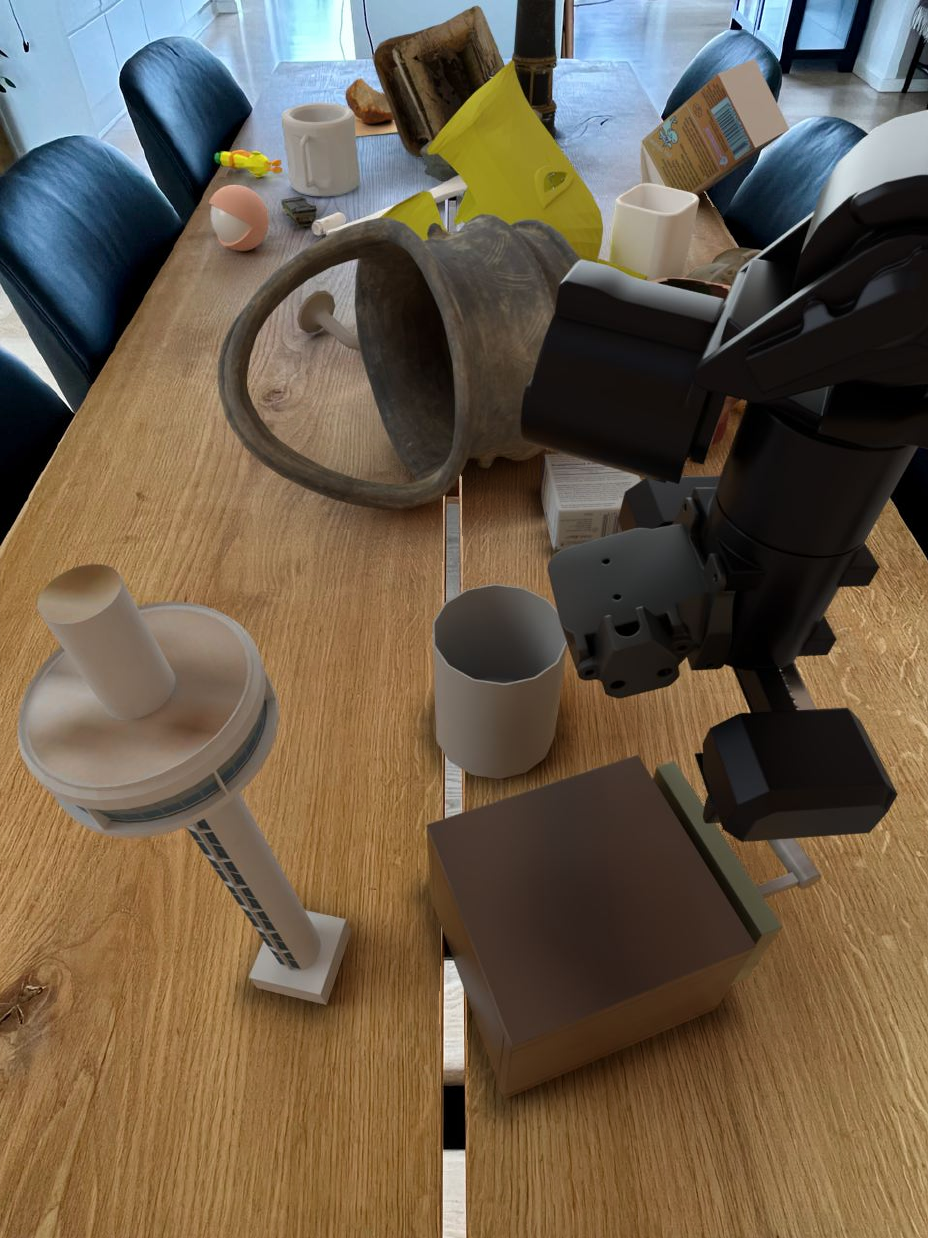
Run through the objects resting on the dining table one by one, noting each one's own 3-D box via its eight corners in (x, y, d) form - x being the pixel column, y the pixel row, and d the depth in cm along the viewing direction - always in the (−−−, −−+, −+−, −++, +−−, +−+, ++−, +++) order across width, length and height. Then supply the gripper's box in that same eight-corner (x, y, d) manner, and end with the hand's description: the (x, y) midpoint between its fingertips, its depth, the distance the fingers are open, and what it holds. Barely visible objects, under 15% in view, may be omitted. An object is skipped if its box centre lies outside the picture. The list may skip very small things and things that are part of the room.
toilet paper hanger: (342, 380, 93) (344, 340, 89) (297, 339, 96) (296, 298, 92) (499, 309, 105) (507, 271, 101) (455, 274, 108) (461, 236, 104)
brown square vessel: (367, 110, 125) (331, 141, 143) (499, 185, 137) (451, 205, 154) (413, -41, 122) (371, 9, 140) (544, 49, 134) (490, 85, 151)
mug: (303, 170, 133) (294, 98, 126) (368, 175, 132) (363, 103, 125) (274, 201, 124) (262, 126, 117) (343, 207, 123) (336, 132, 116)
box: (643, 549, 71) (623, 490, 77) (652, 506, 68) (630, 448, 74) (552, 552, 71) (539, 493, 77) (556, 509, 68) (542, 451, 74)
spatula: (320, 230, 114) (325, 248, 116) (338, 230, 112) (344, 249, 113) (459, 170, 128) (462, 187, 129) (478, 169, 125) (481, 187, 127)
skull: (842, 222, 86) (751, 212, 94) (719, 293, 81) (634, 276, 89) (837, 328, 93) (753, 310, 102) (724, 400, 88) (645, 375, 96)
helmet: (520, 105, 97) (659, 317, 94) (355, 224, 100) (485, 432, 98) (505, 6, 81) (671, 257, 79) (309, 152, 84) (463, 397, 82)
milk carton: (789, 129, 118) (687, 205, 134) (754, 57, 116) (654, 143, 131) (755, 147, 112) (652, 225, 128) (717, 73, 110) (618, 161, 126)
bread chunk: (416, 130, 147) (381, 72, 139) (365, 170, 150) (328, 115, 142) (400, 104, 157) (367, 48, 149) (352, 142, 159) (317, 89, 152)
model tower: (207, 1018, 46) (-129, 681, 23) (266, 876, 51) (39, 492, 29) (349, 1055, 44) (133, 727, 21) (396, 903, 49) (260, 515, 27)
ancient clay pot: (621, 205, 62) (225, 281, 51) (612, 489, 75) (297, 594, 65) (478, 179, 78) (156, 232, 68) (492, 415, 92) (225, 490, 81)
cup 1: (489, 801, 55) (494, 708, 47) (411, 723, 59) (404, 627, 52) (578, 731, 58) (595, 635, 51) (498, 663, 63) (503, 566, 55)
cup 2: (678, 328, 98) (705, 195, 87) (649, 354, 94) (673, 217, 83) (623, 311, 101) (642, 180, 90) (593, 335, 97) (609, 200, 86)
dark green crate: (277, 198, 121) (280, 216, 122) (292, 210, 115) (295, 229, 117) (302, 194, 122) (305, 213, 124) (318, 206, 116) (321, 225, 118)
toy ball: (203, 247, 114) (190, 185, 108) (251, 231, 117) (240, 171, 112) (236, 265, 110) (224, 202, 104) (284, 248, 113) (275, 187, 108)
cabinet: (617, 831, 53) (638, 754, 47) (716, 1009, 46) (757, 946, 39) (430, 897, 50) (425, 824, 44) (504, 1100, 43) (511, 1047, 36)
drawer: (721, 797, 54) (747, 735, 49) (822, 947, 47) (864, 893, 42) (485, 880, 50) (488, 823, 45) (559, 1058, 43) (572, 1013, 38)
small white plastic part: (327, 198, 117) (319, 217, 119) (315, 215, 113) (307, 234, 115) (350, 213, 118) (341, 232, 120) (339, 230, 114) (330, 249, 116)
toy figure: (293, 175, 133) (237, 165, 138) (291, 150, 131) (234, 141, 136) (265, 182, 129) (207, 172, 133) (262, 156, 127) (204, 146, 131)
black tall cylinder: (550, 125, 150) (566, -93, 128) (560, 141, 144) (579, -85, 122) (501, 126, 149) (508, -93, 127) (509, 143, 143) (518, -84, 121)
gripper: (540, 371, 37) (507, 611, 48) (645, 721, 24) (566, 931, 36) (782, 370, 38) (693, 604, 49) (999, 702, 25) (812, 911, 37)
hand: (686, 739), depth 43 cm, fingers open, 9 cm apart
